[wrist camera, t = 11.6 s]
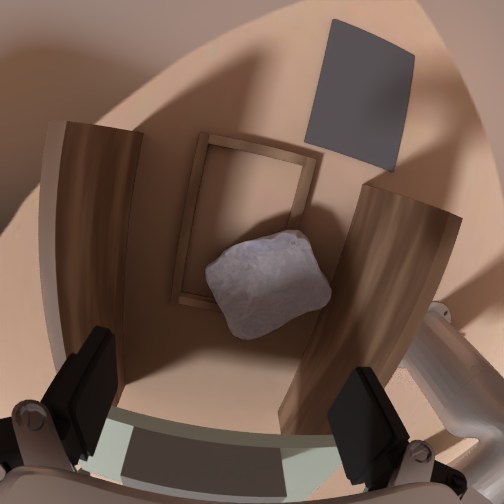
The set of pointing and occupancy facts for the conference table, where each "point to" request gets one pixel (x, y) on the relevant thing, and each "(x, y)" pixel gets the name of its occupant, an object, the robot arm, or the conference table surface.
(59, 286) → the well frame
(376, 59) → the mat
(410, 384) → the conference table surface
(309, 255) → the stone block
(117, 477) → the lid
